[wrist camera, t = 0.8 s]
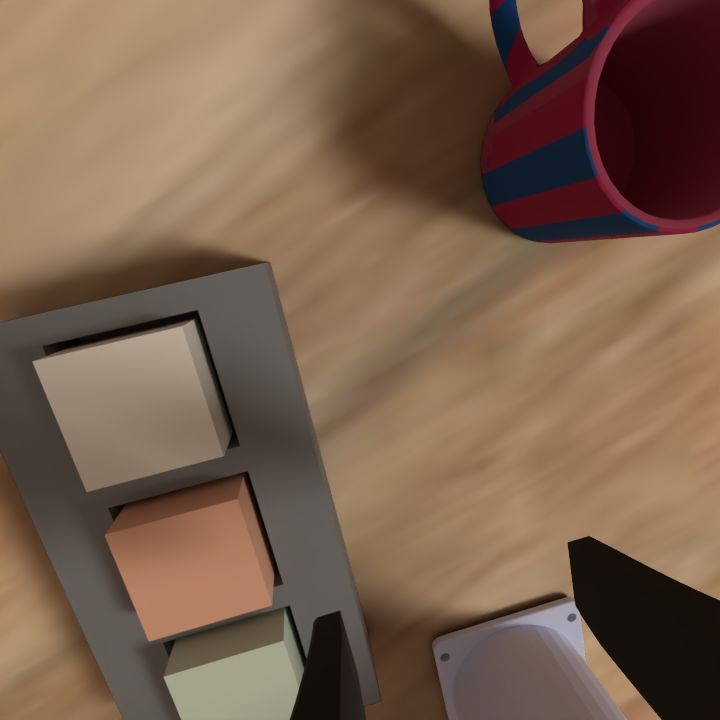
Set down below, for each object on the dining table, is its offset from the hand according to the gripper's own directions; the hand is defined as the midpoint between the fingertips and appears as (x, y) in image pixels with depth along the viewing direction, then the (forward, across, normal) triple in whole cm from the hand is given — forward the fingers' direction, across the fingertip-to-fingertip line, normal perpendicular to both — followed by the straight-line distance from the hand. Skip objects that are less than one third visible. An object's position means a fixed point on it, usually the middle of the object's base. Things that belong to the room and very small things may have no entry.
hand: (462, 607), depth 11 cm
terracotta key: (+7, +8, 0) cm, 11 cm away
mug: (+10, -9, -12) cm, 18 cm away
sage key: (+7, +8, +6) cm, 12 cm away
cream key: (+7, +8, -6) cm, 12 cm away
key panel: (+9, +8, 0) cm, 12 cm away
